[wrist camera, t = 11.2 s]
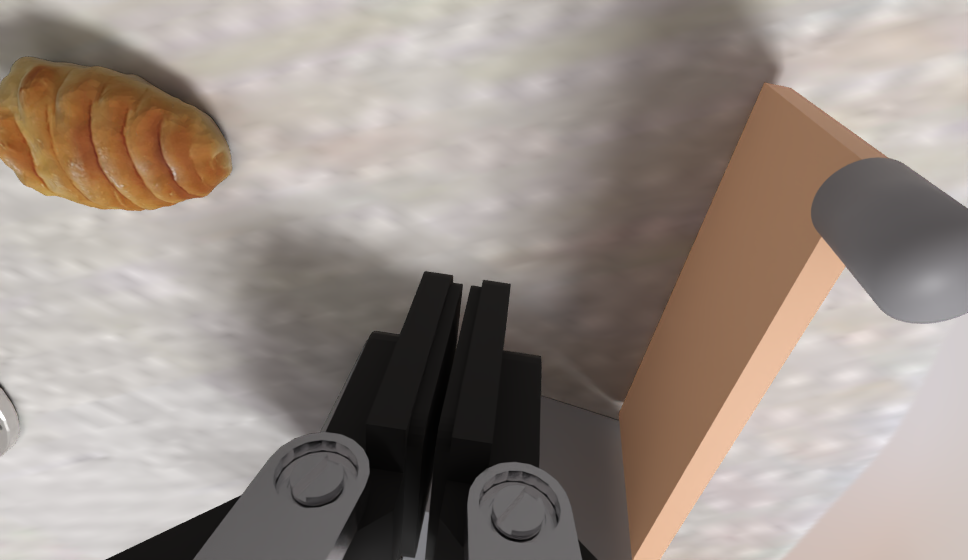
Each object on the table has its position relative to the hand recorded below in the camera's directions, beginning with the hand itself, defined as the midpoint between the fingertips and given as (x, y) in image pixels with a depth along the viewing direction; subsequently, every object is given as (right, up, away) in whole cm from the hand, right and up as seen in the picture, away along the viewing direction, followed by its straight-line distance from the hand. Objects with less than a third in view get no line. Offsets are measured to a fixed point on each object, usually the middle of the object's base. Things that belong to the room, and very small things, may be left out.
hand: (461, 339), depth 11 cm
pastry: (-16, +9, +15) cm, 24 cm away
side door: (+10, +1, +14) cm, 18 cm away
